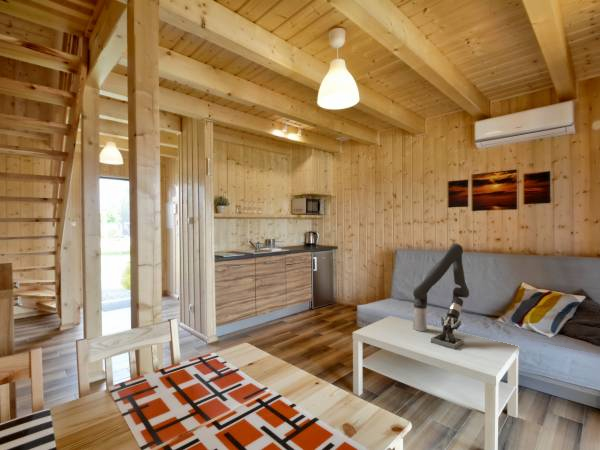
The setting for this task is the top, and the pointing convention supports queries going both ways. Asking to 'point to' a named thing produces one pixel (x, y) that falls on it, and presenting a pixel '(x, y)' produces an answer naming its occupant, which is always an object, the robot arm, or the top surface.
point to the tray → (437, 341)
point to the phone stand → (450, 335)
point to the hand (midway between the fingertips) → (447, 332)
